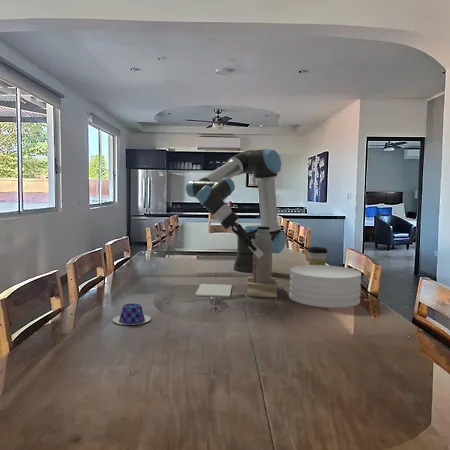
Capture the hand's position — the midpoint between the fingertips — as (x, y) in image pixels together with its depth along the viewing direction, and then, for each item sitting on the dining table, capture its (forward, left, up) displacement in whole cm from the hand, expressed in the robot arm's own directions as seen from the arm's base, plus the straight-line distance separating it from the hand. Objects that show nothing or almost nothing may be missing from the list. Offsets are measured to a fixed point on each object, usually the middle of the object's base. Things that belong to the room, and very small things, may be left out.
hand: (261, 253), depth 178 cm
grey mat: (-1, -19, -17) cm, 25 cm away
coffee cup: (-38, +30, -17) cm, 51 cm away
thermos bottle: (-1, +1, -17) cm, 17 cm away
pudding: (+44, -43, -17) cm, 64 cm away
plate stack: (+5, +26, -17) cm, 31 cm away
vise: (-1, +2, -17) cm, 17 cm away
